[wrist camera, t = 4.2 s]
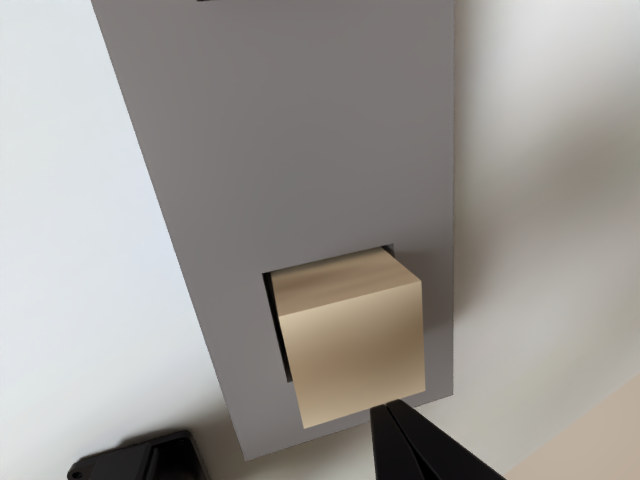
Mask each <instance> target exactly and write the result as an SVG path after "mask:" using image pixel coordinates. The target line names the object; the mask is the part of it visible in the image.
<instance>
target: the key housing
mask: <svg viewBox="0 0 640 480" xmlns="http://www.w3.org/2000/svg"><path fill="white" fill-rule="evenodd" d="M91 3H92V6H93V9H94V12H95V14H96V17H97V20H98V23H99V26H100V29H101V32H102V35H103V38H104V41H105V44H106V47H107V50H108V53H109V56H110V59H111V62H112V65H113V68H114V71H115V74H116V77H117V80H118V83H119V86H120V89H121V92H122V95H123V98H124V101H125V104H126V107H127V110H128V113H129V116H130V119H131V122H132V125H133V128H134V131H135V134H136V137H137V140H138V143H139V146H140V149H141V152H142V155H143V158H144V161H145V163H146V166H147V169H148V172H149V175H150V178H151V181H152V184H153V187H154V190H155V193H156V196H157V199H158V202H159V205H160V208H161V211H162V214H163V217H164V220H165V223H166V226H167V229H168V232H169V235H170V238H171V241H172V244H173V247H174V250H175V253H176V256H177V259H178V262H179V265H180V268H181V271H182V274H183V277H184V280H185V283H186V286H187V289H188V292H189V295H190V298H191V301H192V304H193V307H194V309H195V312H196V315H197V318H198V321H199V324H200V327H201V330H202V333H203V336H204V339H205V342H206V345H207V348H208V351H209V354H210V357H211V360H212V363H213V366H214V369H215V372H216V375H217V378H218V381H219V384H220V387H221V390H222V393H223V396H224V399H225V402H226V405H227V408H228V411H229V414H230V417H231V420H232V423H233V426H234V429H235V432H236V435H237V438H238V441H239V444H240V447H241V450H242V453H243V456H244V458H245V461H248V460H251V459H255V458H258V457H261V456H264V455H267V454H270V453H273V452H276V451H280V450H283V449H286V448H289V447H292V446H295V445H298V444H301V443H304V442H308V441H311V440H314V439H317V438H320V437H323V436H326V435H329V434H332V433H336V432H339V431H342V430H345V429H348V428H351V427H354V426H357V425H361V424H364V423H367V422H370V408H369V409H366V410H363V411H360V412H356V413H353V414H350V415H347V416H344V417H341V418H337V419H334V420H331V421H328V422H325V423H321V424H318V425H315V426H312V427H309V428H306V429H304V427H303V422H302V418H301V414H300V409H299V405H298V400H297V396H296V392H295V387H294V383H293V379H292V374H291V370H290V365H289V361H288V357H287V352H286V348H285V343H284V339H283V335H282V330H281V326H280V322H279V317H278V312H277V306H276V300H275V295H274V289H273V283H272V278H271V272H270V271H274V270H279V269H283V268H287V267H292V266H296V265H300V264H305V263H309V262H314V261H318V260H322V259H327V258H331V257H335V256H340V255H344V254H349V253H353V252H357V251H362V250H366V249H370V248H375V247H379V246H380V247H381V248H383V249H384V250H385V251H386V252H387V253H389V254H390V255H391V256H392V257H393V258H395V259H396V260H397V261H398V262H399V263H401V264H402V265H403V266H404V267H405V268H407V269H408V270H409V271H410V272H411V273H413V274H414V275H415V276H416V277H417V278H419V279H420V280H421V286H422V312H423V338H424V365H425V391H423V392H420V393H417V394H414V395H411V396H407V397H404V398H401V400H403V401H404V402H405V403H407V404H408V405H409V406H411V407H412V408H413V407H417V406H420V405H423V404H426V403H429V402H432V401H435V400H438V399H442V398H445V397H448V396H451V395H453V277H454V0H211V1H209V0H91ZM385 404H386V403H385ZM385 404H384V405H385Z"/></svg>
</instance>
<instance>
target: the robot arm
mask: <svg viewBox="0 0 640 480" xmlns="http://www.w3.org/2000/svg"><path fill="white" fill-rule="evenodd" d="M370 421H371V432H372V442H373V453H374V463H375V474H376V480H506V479H505V478H504V477H502V476H501V475H500V474H498V473H497V472H496V471H495V470H493V469H492V468H491V467H489V466H488V465H487V464H485V463H484V462H483V461H481V460H480V459H479V458H477V457H476V456H475V455H474V454H472V453H471V452H470V451H468V450H467V449H466V448H464V447H463V446H462V445H460V444H459V443H458V442H456V441H455V440H454V439H453V438H451V437H450V436H449V435H447V434H446V433H445V432H443V431H442V430H441V429H439V428H438V427H437V426H435V425H434V424H433V423H432V422H430V421H429V420H428V419H426V418H425V417H424V416H422V415H421V414H420V413H418V412H417V411H416V410H414V409H413V408H412V407H411V406H409V405H408V404H407V403H405V402H404V401H403V400H401V399H396V400H393V401H390V402H387V403H386V404H385V405H384V404H380V405H377V406H374V407H371V408H370ZM181 440H184V441H181ZM67 478H68V480H210V477H209V475H208V473H207V470H206V468H205V465H204V463H203V460H202V458H201V455H200V453H199V450H198V448H197V445H196V443H195V440H194V438H193V435H192V434H191V433H190V432H188V431H180V432H177V433H173V434H170V435H167V436H163V437H160V438H157V439H153V440H150V441H146V442H143V443H140V444H136V445H133V446H130V447H126V448H123V449H120V450H116V451H113V452H109V453H106V454H103V455H99V456H96V457H93V458H89V459H86V460H82V461H79V462H76V463H74V464H73V465H72V466H71V468H70V470H69V472H68V474H67Z"/></svg>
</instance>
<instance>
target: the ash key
mask: <svg viewBox="0 0 640 480" xmlns="http://www.w3.org/2000/svg"><path fill="white" fill-rule="evenodd" d="M270 272H271V278H272V283H273V289H274V295H275V300H276V306H277V312H278V317H279V322H280V326H281V330H282V335H283V339H284V343H285V348H286V352H287V357H288V361H289V365H290V370H291V374H292V379H293V383H294V387H295V392H296V396H297V400H298V405H299V409H300V414H301V418H302V422H303V427H304V429H306V428H309V427H312V426H315V425H318V424H321V423H325V422H328V421H331V420H334V419H337V418H341V417H344V416H347V415H350V414H353V413H356V412H360V411H363V410H366V409H369V408H371V407H374V406H377V405H380V404H385V403H387V402H390V401H393V400H396V399H401V398H404V397H407V396H411V395H414V394H417V393H420V392H423V391H425V365H424V338H423V312H422V286H421V280H420V279H419V278H417V277H416V276H415V275H414V274H413V273H411V272H410V271H409V270H408V269H407V268H405V267H404V266H403V265H402V264H401V263H399V262H398V261H397V260H396V259H395V258H393V257H392V256H391V255H390V254H389V253H387V252H386V251H385V250H384V249H383V248H381V247H380V246H379V247H375V248H370V249H366V250H362V251H357V252H353V253H349V254H344V255H340V256H335V257H331V258H327V259H322V260H318V261H314V262H309V263H305V264H300V265H296V266H292V267H287V268H283V269H279V270H274V271H270Z"/></svg>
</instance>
